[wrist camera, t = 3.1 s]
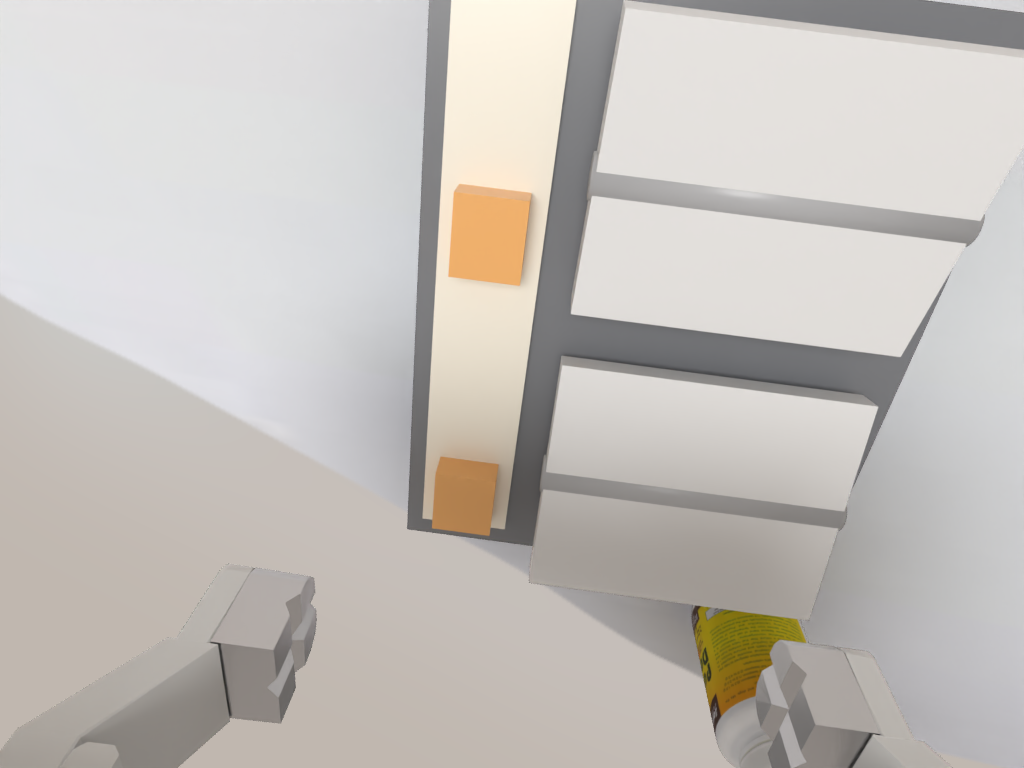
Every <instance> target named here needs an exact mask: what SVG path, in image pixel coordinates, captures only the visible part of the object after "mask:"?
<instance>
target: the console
mask: <svg viewBox="0 0 1024 768" xmlns="http://www.w3.org/2000/svg"><path fill="white" fill-rule="evenodd" d="M623 1H624V0H429V16H428V40H427V64H426V88H425V113H424V137H423V161H422V185H421V209H420V234H419V258H418V282H417V306H416V330H415V355H414V379H413V403H412V427H411V451H410V476H409V500H408V525H407V529H410V530H417V531H426V532H432V533H440V534H447V535H455V536H462V537H470V538H477V539H485V540H492V541H499V542H507V543H514V544H522V545H529V546H533V541H534V534H535V528H536V521H537V514H538V508H539V501H540V495H541V492H540V478H541V470H542V463H543V457H544V455H547V448H548V442H549V435H550V429H551V422H552V415H553V409H554V402H555V396H556V389H557V382H558V376H559V369H560V363H561V356H569V357H576V358H584V359H592V360H599V361H607V362H615V363H622V364H630V365H638V366H645V367H653V368H660V369H668V370H676V371H683V372H691V373H699V374H706V375H714V376H722V377H729V378H737V379H744V380H752V381H760V382H767V383H775V384H783V385H790V386H798V387H806V388H813V389H821V390H829V391H836V392H844V393H851V394H859V395H863V396H865V397H866V398H867V399H869V400H870V401H872V402H873V403H874V404H876V405H877V406H878V410H877V413H876V416H875V419H874V422H873V425H872V428H871V431H870V434H869V437H868V440H867V444H866V447H865V450H864V453H863V456H862V459H861V462H860V465H859V468H858V471H857V474H856V477H855V480H854V484H855V482H856V480H857V477H858V475H859V473H860V471H861V469H862V466H863V464H864V462H865V460H866V458H867V456H868V453H869V451H870V449H871V447H872V445H873V442H874V440H875V438H876V436H877V434H878V431H879V429H880V427H881V425H882V423H883V420H884V418H885V416H886V414H887V412H888V409H889V407H890V405H891V403H892V401H893V398H894V396H895V394H896V392H897V390H898V387H899V385H900V383H901V381H902V379H903V376H904V374H905V372H906V370H907V368H908V366H909V363H910V361H911V359H912V357H913V355H914V352H915V350H916V348H917V346H918V344H919V341H920V339H921V337H922V335H923V333H924V330H925V328H926V326H927V324H928V322H929V319H930V317H931V315H932V313H933V311H934V308H935V306H936V304H937V302H938V300H939V297H940V295H941V293H942V291H943V289H944V286H945V284H946V282H947V280H948V278H949V275H950V274H949V275H948V277H947V279H946V280H945V282H944V284H943V286H942V287H941V289H940V291H939V292H938V294H937V296H936V298H935V299H934V301H933V303H932V304H931V306H930V308H929V309H928V311H927V313H926V315H925V316H924V318H923V320H922V321H921V323H920V325H919V327H918V328H917V330H916V332H915V333H914V335H913V337H912V339H911V340H910V342H909V344H908V345H907V347H906V349H905V350H904V352H903V354H902V356H901V357H896V356H888V355H880V354H873V353H865V352H857V351H850V350H842V349H834V348H827V347H819V346H811V345H804V344H796V343H788V342H781V341H773V340H765V339H757V338H750V337H742V336H734V335H727V334H719V333H711V332H704V331H696V330H688V329H681V328H673V327H665V326H658V325H650V324H642V323H635V322H627V321H619V320H612V319H604V318H596V317H588V316H581V315H573V314H571V295H572V289H573V284H574V278H575V272H576V267H577V261H578V255H579V250H580V244H581V238H582V233H583V227H584V221H585V216H586V210H587V204H588V200H587V188H588V180H589V173H590V167H591V162H592V157H593V153H594V151H597V148H598V142H599V137H600V131H601V125H602V120H603V114H604V108H605V103H606V97H607V91H608V86H609V80H610V74H611V69H612V63H613V57H614V52H615V46H616V40H617V35H618V29H619V23H620V18H621V12H622V6H623ZM628 1H636V2H644V3H652V4H660V5H668V6H676V7H684V8H692V9H700V10H708V11H716V12H724V13H732V14H740V15H748V16H756V17H764V18H772V19H780V20H788V21H796V22H804V23H812V24H820V25H828V26H836V27H845V28H853V29H861V30H869V31H877V32H885V33H893V34H901V35H909V36H917V37H925V38H933V39H941V40H949V41H957V42H965V43H973V44H981V45H989V46H997V47H1005V48H1013V49H1021V50H1024V13H1022V12H1014V11H1006V10H998V9H990V8H982V7H974V6H966V5H958V4H950V3H942V2H934V1H926V0H628ZM951 271H952V270H951ZM950 273H951V272H950ZM854 484H853V486H854ZM852 488H853V487H852ZM851 491H852V490H851Z"/></svg>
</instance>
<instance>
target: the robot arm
mask: <svg viewBox="0 0 1024 768" xmlns="http://www.w3.org/2000/svg"><path fill="white" fill-rule="evenodd" d="M314 593H315V583H314V578H313V577H310V576H304V575H298V574H292V573H286V572H280V571H274V570H267V569H261V568H253V567H246V566H240V565H234V564H227V565H226V566H225V567H223V568H222V569H221V570H220V571H219V572H218V574H217V576H216V577H215V579H214V580H213V582H212V583H211V585H210V586H209V588H208V589H207V591H206V593H205V594H204V596H203V597H202V599H201V600H200V602H199V603H198V605H197V607H196V608H195V610H194V611H193V613H192V615H191V616H190V618H189V619H188V621H187V622H186V624H185V625H184V627H183V629H182V630H181V632H180V633H179V635H178V636H177V638H169V637H168V638H166V639H164V640H162V641H161V642H159V643H157V644H156V645H154V646H153V647H151V648H149V649H148V650H146V651H144V652H143V653H141V654H139V655H138V656H136V657H134V658H133V659H131V660H129V661H128V662H126V663H125V664H123V665H121V666H120V667H118V668H116V669H115V670H113V671H111V672H110V673H108V674H106V675H105V676H103V677H102V678H100V679H98V680H97V681H95V682H93V683H92V684H90V685H88V686H87V687H85V688H83V689H82V690H80V691H79V692H77V693H75V694H74V695H72V696H70V697H69V698H67V699H65V700H64V701H62V702H61V703H59V704H57V705H56V706H54V707H52V708H51V709H49V710H47V711H46V712H44V713H42V714H41V715H39V716H37V717H36V718H34V719H32V720H31V721H29V722H28V723H26V724H24V725H23V726H21V727H20V728H18V729H17V730H16V731H15V732H14V734H13V735H12V736H11V738H10V739H9V740H8V741H7V743H6V744H5V745H4V746H3V748H2V749H1V750H0V768H178V767H179V766H180V765H181V764H182V763H183V762H184V761H186V760H187V759H188V758H189V757H190V756H191V755H192V754H194V753H195V752H196V751H197V750H198V749H199V748H200V747H201V746H203V745H204V744H205V743H206V742H207V741H208V740H209V739H210V738H212V737H213V736H214V735H215V734H216V733H217V732H218V731H219V730H221V729H222V728H223V727H224V726H225V725H226V724H227V723H228V722H230V718H235V719H244V720H253V721H262V722H272V723H281V722H282V719H283V717H284V715H285V712H286V710H287V708H288V705H289V703H290V700H291V698H292V696H293V693H294V691H295V688H296V685H295V672H296V671H297V670H299V669H300V668H301V667H303V666H304V665H305V664H306V661H307V659H308V656H309V654H310V651H311V648H312V644H313V640H314V635H315V630H316V621H317V618H316V609H315V608H314V607H313V606H312V605H311V601H312V598H313V596H314ZM770 657H771V660H772V663H773V665H771V666H770V667H768V668H766V669H764V670H763V671H762V672H761V675H760V677H759V680H758V682H757V688H756V709H757V716H758V719H759V723H760V727H761V729H762V730H763V731H764V732H765V733H766V734H767V735H768V736H769V738H770V739H771V740H772V741H773V743H772V745H771V747H770V749H769V751H768V756H769V760H770V763H771V767H772V768H953V767H951V766H950V765H949V764H948V763H947V762H946V761H945V760H944V759H943V758H941V757H940V756H939V755H938V754H937V753H936V752H935V751H934V750H933V749H932V748H930V747H929V746H928V745H927V744H926V743H925V742H923V741H917V740H915V739H914V737H913V735H912V733H911V731H910V729H909V727H908V725H907V723H906V721H905V719H904V717H903V715H902V713H901V711H900V709H899V707H898V705H897V703H896V701H895V699H894V697H893V695H892V693H891V691H890V689H889V686H888V684H887V682H886V680H885V678H884V676H883V674H882V672H881V670H880V668H879V666H878V664H877V662H876V660H875V658H874V657H873V656H872V655H871V654H870V653H869V652H868V651H863V650H855V649H847V648H840V647H838V648H836V647H834V646H826V645H818V644H810V643H802V642H794V641H786V640H779V641H778V642H776V643H775V644H774V646H773V648H772V650H771V652H770Z"/></svg>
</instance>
